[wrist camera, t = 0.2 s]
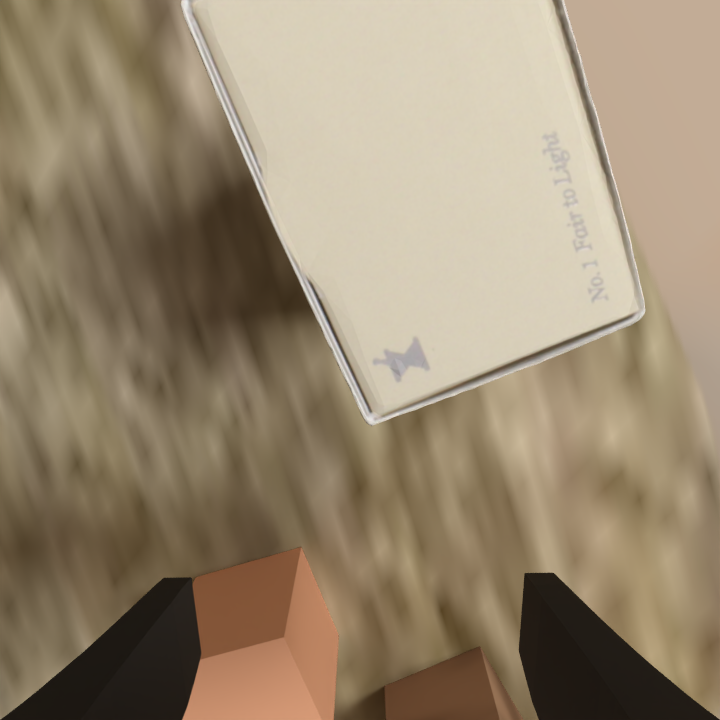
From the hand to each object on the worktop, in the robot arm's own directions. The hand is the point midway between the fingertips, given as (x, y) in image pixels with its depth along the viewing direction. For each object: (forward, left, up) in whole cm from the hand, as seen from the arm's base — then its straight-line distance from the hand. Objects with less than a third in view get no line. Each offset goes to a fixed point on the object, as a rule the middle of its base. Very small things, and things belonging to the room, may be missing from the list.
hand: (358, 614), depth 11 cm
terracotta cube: (-7, +7, -10) cm, 14 cm away
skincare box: (+8, -4, -10) cm, 13 cm away
